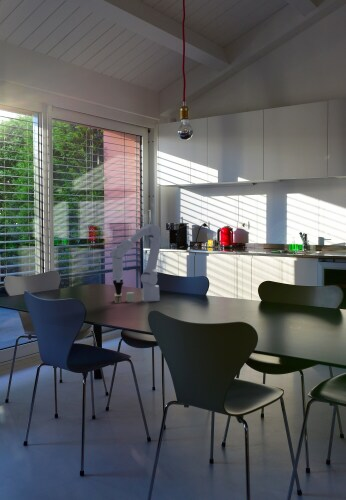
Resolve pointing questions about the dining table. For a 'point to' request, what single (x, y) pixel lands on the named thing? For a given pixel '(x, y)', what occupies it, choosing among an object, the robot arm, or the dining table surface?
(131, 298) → the sage block
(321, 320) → the dining table surface
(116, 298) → the maple block
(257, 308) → the dining table surface
